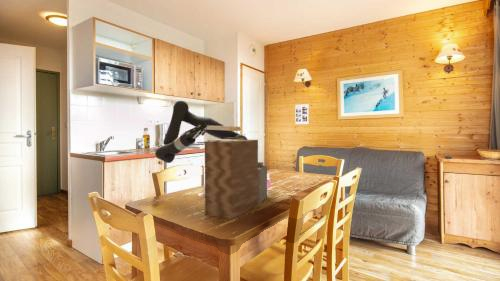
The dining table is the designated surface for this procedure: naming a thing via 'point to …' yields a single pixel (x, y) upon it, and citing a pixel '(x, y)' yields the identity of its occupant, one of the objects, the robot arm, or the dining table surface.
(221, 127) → the t key
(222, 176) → the stand
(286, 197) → the dining table surface
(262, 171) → the hip flask
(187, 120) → the robot arm
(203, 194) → the teacup and saucer
